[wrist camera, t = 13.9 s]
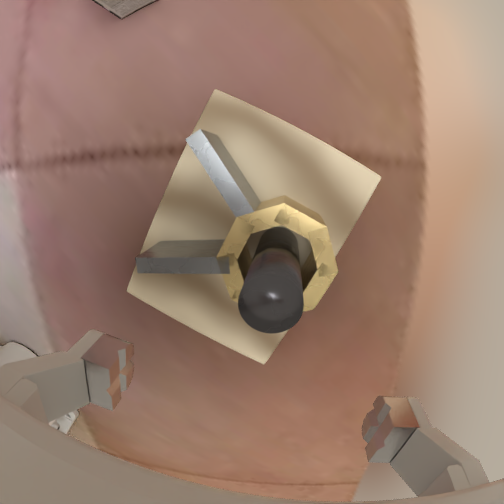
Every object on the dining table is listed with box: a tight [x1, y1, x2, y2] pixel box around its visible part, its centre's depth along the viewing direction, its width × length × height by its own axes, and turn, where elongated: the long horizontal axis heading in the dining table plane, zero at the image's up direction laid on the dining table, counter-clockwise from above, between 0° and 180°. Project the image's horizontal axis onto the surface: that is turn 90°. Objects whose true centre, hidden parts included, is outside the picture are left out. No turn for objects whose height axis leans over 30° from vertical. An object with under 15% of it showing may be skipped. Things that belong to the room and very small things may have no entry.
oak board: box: [127, 89, 381, 364], centre depth 27 cm, size 20×15×2 cm
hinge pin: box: [238, 227, 304, 334], centre depth 20 cm, size 3×3×11 cm
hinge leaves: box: [135, 129, 338, 312], centre depth 23 cm, size 11×13×5 cm
